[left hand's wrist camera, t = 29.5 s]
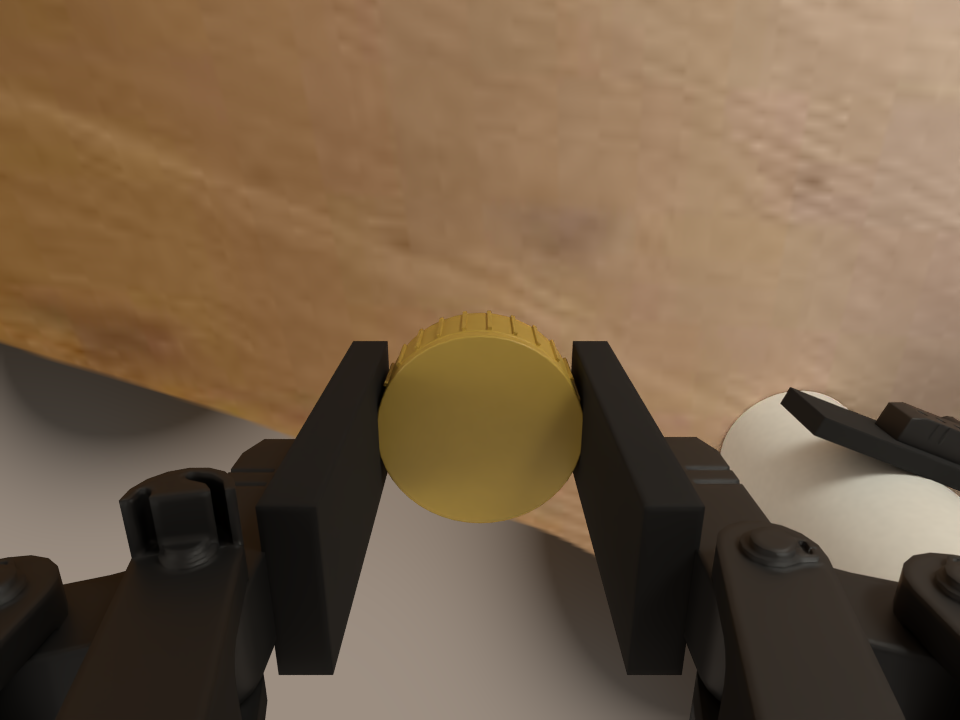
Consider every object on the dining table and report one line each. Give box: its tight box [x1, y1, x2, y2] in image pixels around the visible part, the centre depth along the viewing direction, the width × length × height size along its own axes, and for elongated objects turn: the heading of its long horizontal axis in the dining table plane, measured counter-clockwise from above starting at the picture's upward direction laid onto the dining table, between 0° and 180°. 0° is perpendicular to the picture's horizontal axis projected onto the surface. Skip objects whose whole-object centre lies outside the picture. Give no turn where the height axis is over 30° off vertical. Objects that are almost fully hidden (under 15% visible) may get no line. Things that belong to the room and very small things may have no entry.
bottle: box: [721, 391, 960, 582], centre depth 22 cm, size 7×7×20 cm
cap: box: [378, 311, 583, 523], centre depth 14 cm, size 4×4×2 cm
